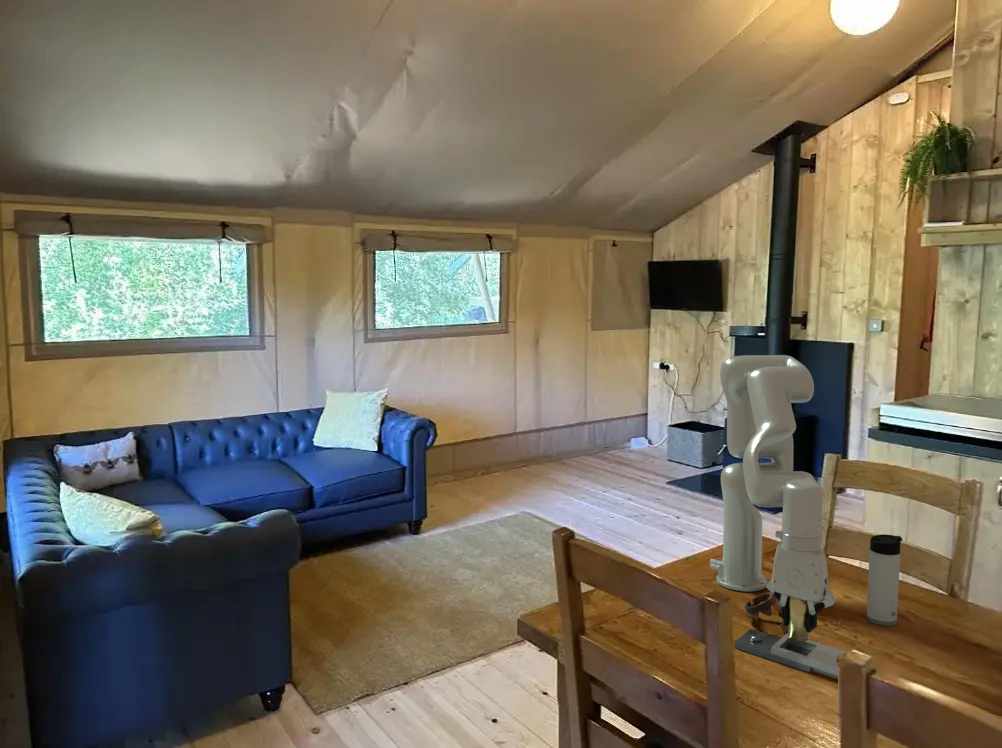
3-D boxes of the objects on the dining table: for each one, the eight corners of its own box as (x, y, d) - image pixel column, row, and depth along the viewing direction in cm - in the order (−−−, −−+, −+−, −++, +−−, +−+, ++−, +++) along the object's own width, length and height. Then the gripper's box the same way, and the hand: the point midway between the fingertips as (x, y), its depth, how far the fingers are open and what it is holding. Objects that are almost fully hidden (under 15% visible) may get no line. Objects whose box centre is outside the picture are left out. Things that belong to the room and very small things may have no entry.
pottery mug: (781, 641, 166) (762, 607, 167) (750, 644, 173) (732, 611, 174) (811, 613, 172) (792, 580, 173) (780, 616, 180) (762, 585, 181)
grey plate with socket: (734, 648, 162) (734, 633, 162) (750, 634, 168) (750, 620, 168) (851, 686, 146) (852, 670, 146) (865, 670, 152) (865, 654, 152)
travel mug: (902, 627, 170) (906, 541, 167) (870, 625, 171) (874, 540, 169) (893, 615, 176) (897, 532, 174) (863, 613, 177) (866, 531, 175)
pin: (781, 637, 156) (783, 586, 155) (791, 629, 160) (792, 579, 158) (806, 644, 153) (807, 592, 151) (815, 636, 156) (816, 585, 155)
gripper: (754, 537, 157) (752, 621, 159) (837, 555, 145) (834, 646, 148) (768, 528, 162) (766, 609, 164) (850, 545, 151) (847, 632, 153)
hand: (798, 626), depth 156 cm, fingers closed on pin, 4 cm apart
